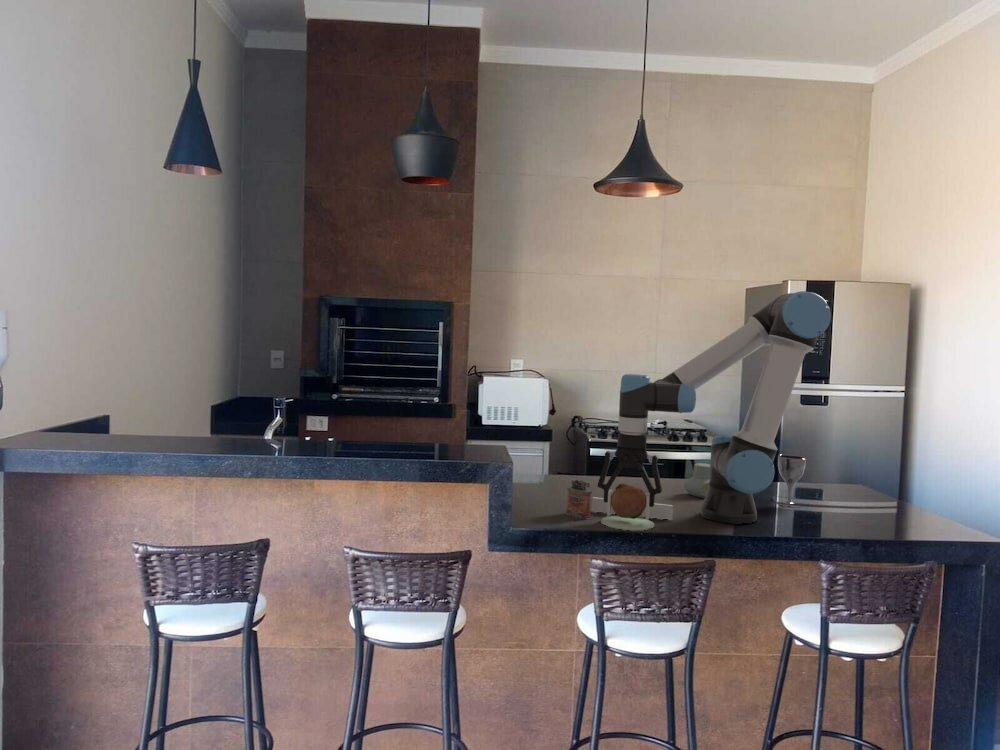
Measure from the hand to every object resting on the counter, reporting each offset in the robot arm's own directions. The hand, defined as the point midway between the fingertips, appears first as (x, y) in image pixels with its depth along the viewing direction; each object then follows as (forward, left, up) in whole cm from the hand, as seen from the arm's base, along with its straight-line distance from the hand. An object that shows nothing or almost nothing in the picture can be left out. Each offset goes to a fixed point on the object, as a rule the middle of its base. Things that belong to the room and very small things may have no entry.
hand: (628, 516), depth 209 cm
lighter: (+14, -3, -2) cm, 14 cm away
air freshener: (-18, -47, -2) cm, 50 cm away
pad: (0, 0, -2) cm, 2 cm away
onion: (0, 0, 0) cm, 0 cm away
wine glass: (-44, -46, -2) cm, 64 cm away
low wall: (0, -10, -2) cm, 10 cm away
